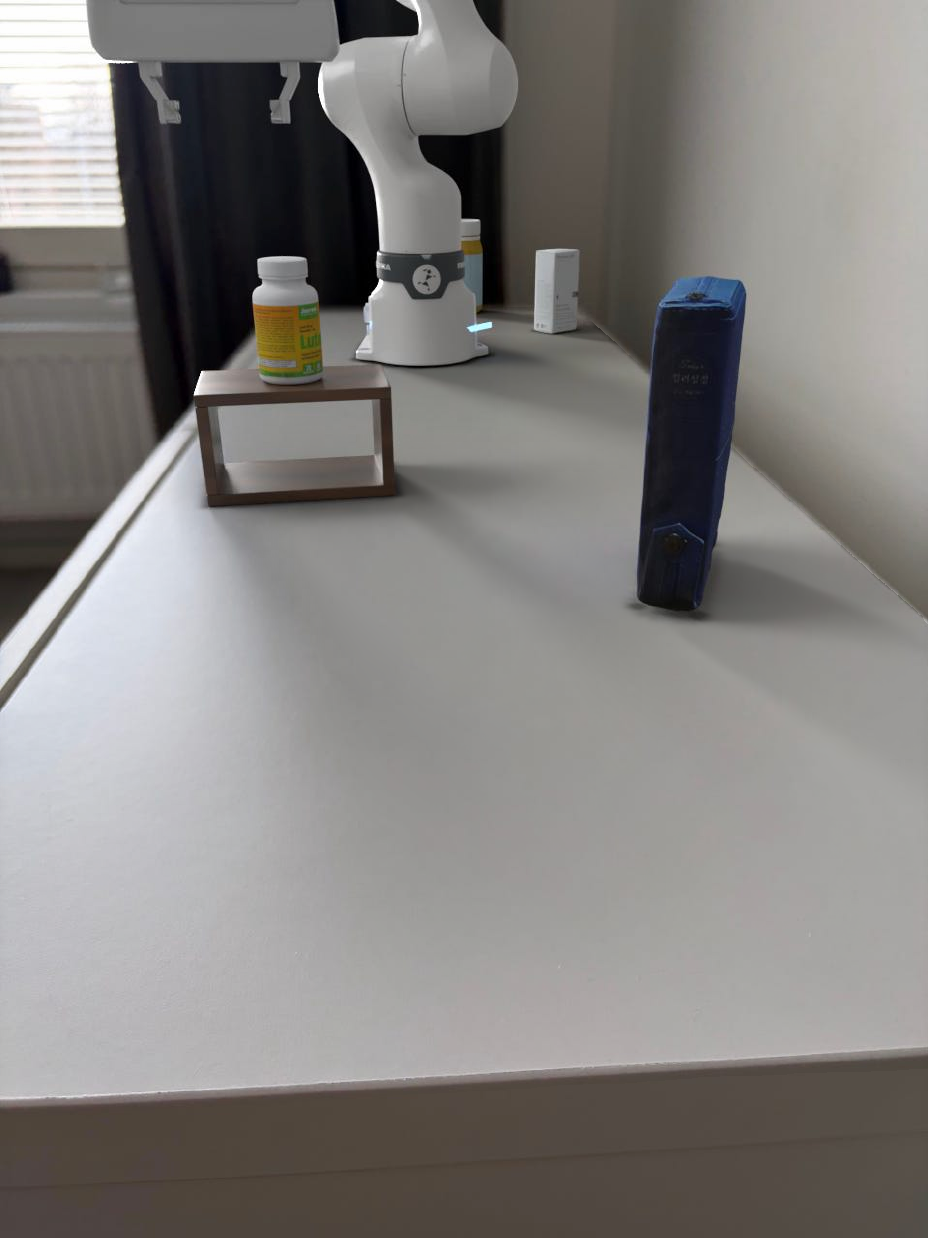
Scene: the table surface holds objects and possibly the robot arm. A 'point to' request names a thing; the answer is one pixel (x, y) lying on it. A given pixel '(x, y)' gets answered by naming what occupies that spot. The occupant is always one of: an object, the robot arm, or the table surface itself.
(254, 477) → the shelf
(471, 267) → the bottle
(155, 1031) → the table surface
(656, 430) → the book
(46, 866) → the table surface
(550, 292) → the cosmetic box
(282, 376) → the supplement bottle
